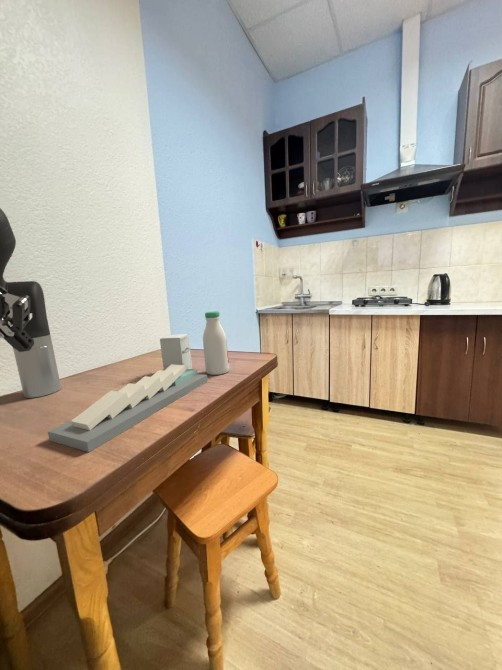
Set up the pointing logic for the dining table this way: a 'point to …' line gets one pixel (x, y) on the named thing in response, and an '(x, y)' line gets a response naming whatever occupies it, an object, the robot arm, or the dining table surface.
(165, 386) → the domino
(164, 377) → the domino
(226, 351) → the milk bottle
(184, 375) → the domino
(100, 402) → the domino
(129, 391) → the domino
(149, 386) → the domino
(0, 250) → the robot arm
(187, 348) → the supplement box
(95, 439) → the board
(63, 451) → the dining table surface
